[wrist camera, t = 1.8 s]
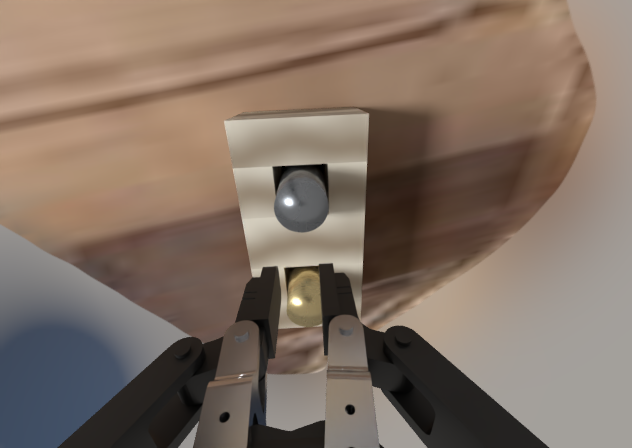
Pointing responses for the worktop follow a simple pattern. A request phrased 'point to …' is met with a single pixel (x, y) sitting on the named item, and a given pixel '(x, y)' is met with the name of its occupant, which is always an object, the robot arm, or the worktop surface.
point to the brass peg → (304, 296)
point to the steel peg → (301, 198)
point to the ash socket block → (339, 178)
